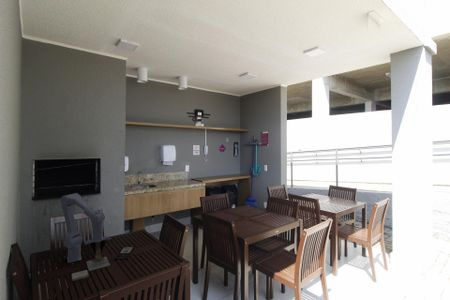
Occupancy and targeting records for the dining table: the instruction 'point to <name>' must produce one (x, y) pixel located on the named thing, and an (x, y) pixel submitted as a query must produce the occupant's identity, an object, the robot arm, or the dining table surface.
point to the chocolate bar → (124, 253)
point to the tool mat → (97, 264)
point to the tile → (79, 275)
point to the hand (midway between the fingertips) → (98, 253)
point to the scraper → (98, 256)
